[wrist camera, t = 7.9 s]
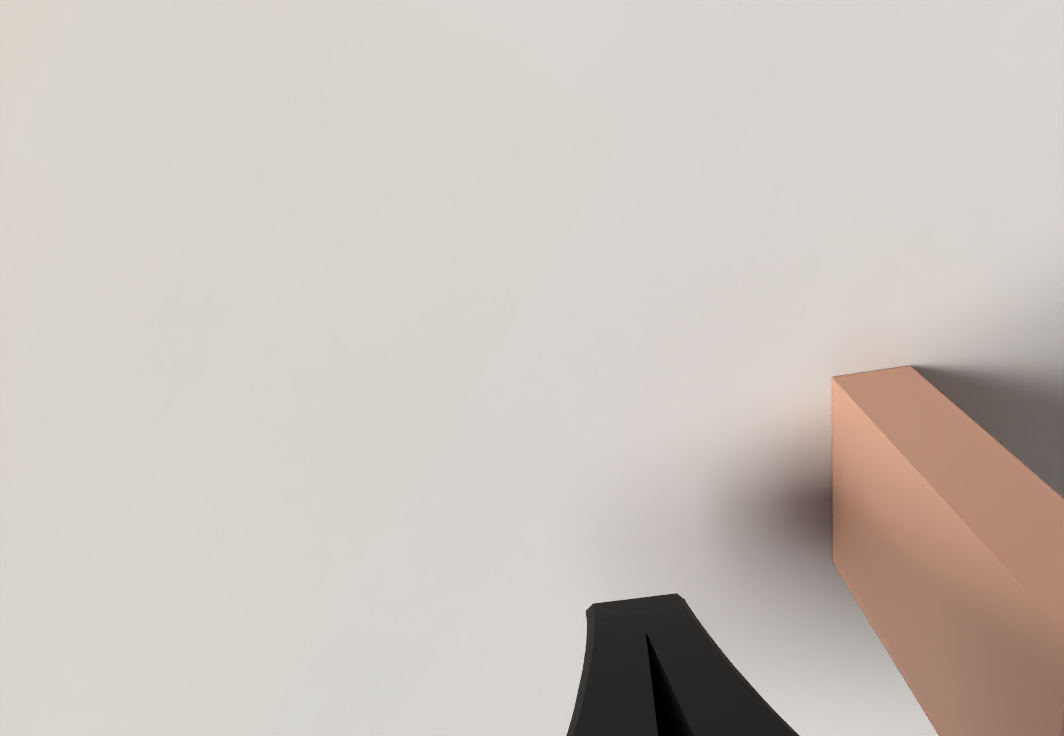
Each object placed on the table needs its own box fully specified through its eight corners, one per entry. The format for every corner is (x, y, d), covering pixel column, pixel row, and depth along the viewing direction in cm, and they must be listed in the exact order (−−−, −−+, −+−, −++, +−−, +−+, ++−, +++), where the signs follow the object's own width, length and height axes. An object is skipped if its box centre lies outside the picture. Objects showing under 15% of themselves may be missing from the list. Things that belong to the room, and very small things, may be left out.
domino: (903, 552, 17) (1154, 884, 11) (833, 563, 17) (1039, 899, 11) (910, 365, 16) (1206, 621, 9) (831, 377, 16) (1072, 640, 9)
